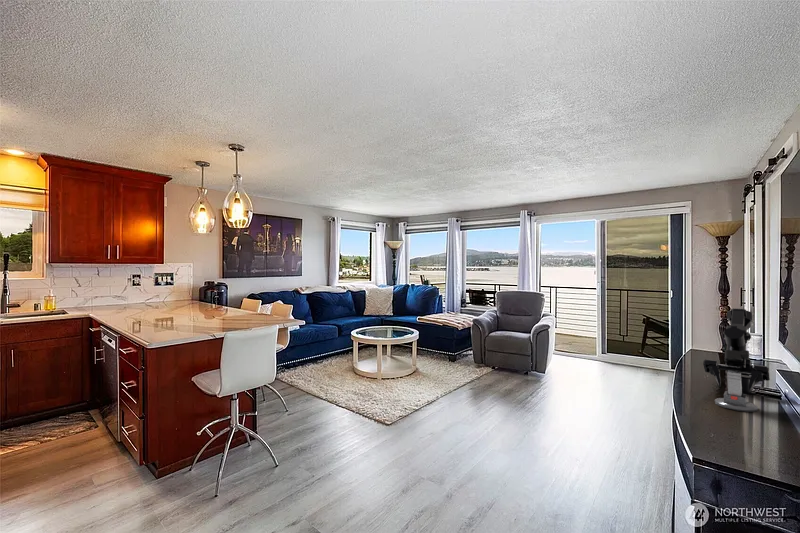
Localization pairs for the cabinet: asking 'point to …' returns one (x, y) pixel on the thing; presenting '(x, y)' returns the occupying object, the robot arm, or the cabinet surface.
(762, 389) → the cabinet surface
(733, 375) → the column
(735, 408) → the stand base
